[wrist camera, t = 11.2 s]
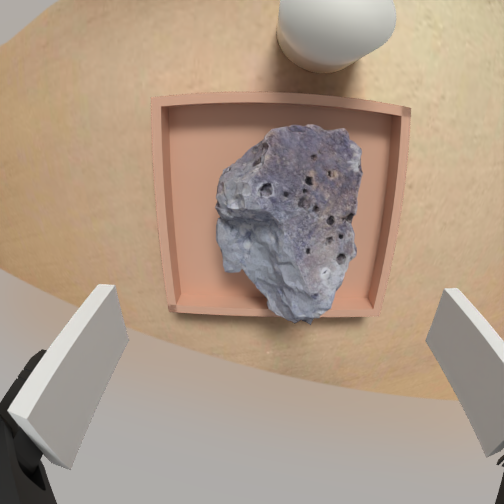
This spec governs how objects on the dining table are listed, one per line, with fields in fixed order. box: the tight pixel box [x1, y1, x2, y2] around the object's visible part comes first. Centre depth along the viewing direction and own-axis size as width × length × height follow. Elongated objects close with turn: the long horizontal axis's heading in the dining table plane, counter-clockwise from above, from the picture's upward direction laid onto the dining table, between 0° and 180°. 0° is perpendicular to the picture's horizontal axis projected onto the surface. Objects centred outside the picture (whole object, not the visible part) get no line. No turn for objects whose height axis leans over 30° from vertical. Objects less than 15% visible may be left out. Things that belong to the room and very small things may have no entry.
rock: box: [215, 124, 363, 325], centre depth 22 cm, size 14×10×10 cm
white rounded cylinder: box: [277, 0, 396, 73], centre depth 16 cm, size 7×7×8 cm
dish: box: [151, 92, 411, 317], centre depth 25 cm, size 20×19×3 cm
